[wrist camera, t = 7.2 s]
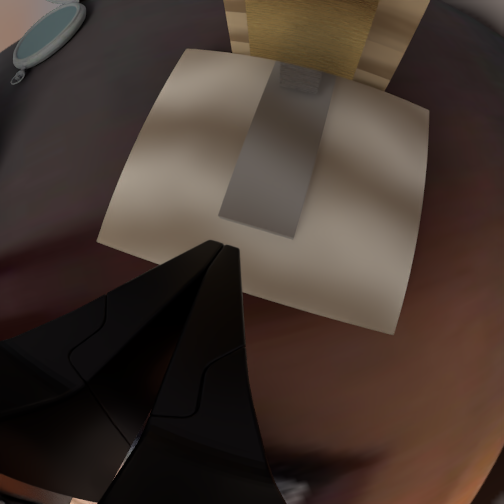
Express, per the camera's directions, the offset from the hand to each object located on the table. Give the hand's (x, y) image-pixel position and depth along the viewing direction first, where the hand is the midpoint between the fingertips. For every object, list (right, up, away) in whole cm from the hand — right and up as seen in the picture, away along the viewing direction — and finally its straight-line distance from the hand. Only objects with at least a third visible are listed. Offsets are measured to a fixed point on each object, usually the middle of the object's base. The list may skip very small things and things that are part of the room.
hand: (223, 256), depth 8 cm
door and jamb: (+3, +7, +9) cm, 12 cm away
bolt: (+4, +12, +6) cm, 14 cm away
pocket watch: (-21, +24, +13) cm, 35 cm away
